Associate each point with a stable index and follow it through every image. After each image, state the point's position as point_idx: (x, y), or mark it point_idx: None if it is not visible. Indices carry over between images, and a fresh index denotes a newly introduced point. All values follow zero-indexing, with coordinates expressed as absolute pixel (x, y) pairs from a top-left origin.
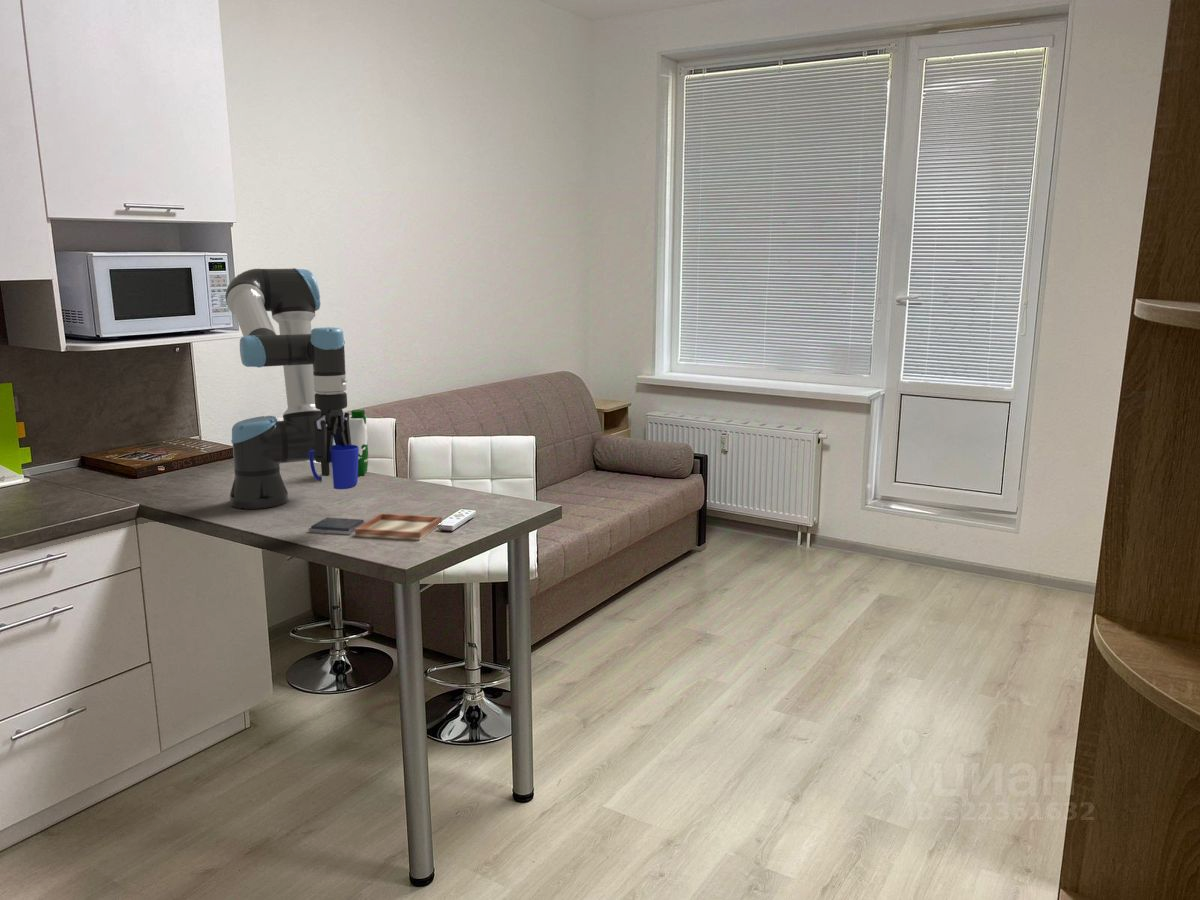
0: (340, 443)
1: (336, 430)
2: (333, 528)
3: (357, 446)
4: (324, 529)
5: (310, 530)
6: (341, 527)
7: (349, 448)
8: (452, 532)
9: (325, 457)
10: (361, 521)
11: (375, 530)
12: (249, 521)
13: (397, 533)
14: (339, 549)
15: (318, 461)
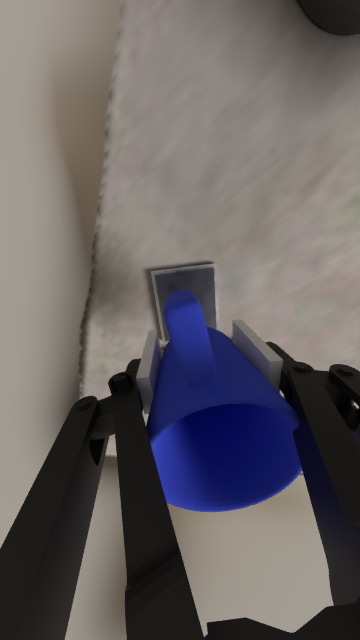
0: (300, 438)
1: (346, 583)
2: (161, 316)
3: (263, 499)
4: (158, 300)
5: (151, 275)
6: (165, 328)
7: (285, 444)
8: None
9: (94, 445)
10: None
11: None
12: (174, 65)
13: None
14: (98, 363)
15: (114, 385)
